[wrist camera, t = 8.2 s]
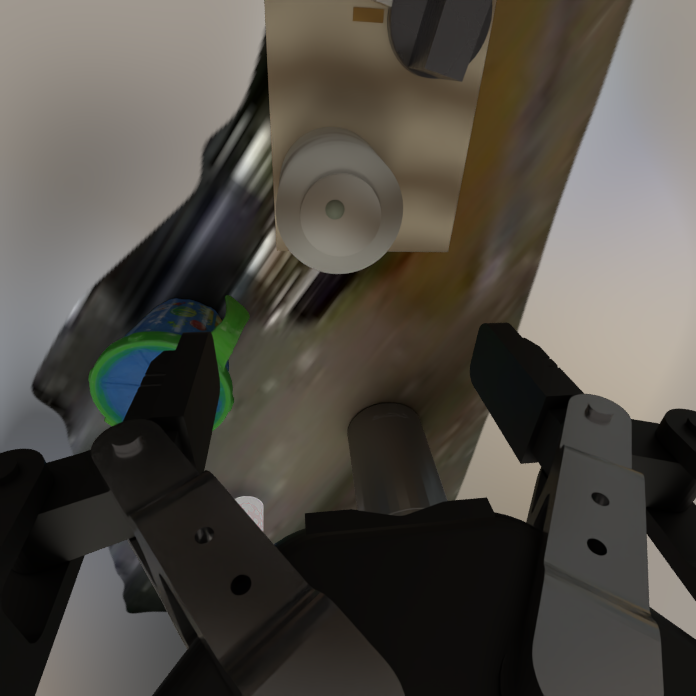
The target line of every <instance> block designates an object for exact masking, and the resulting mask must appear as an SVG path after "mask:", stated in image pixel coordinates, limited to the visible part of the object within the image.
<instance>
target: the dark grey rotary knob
mask: <svg viewBox="0 0 696 696" xmlns="http://www.w3.org/2000/svg"><path fill="white" fill-rule="evenodd" d="M371 1H373V2H376V3H378V4H381V5H384V6H386V7H389V8H388V15H387V30H388V37H389V42H390V45H391V48H392V50H393V53H394V55H395V56H396V58H397V60H398V61H399V62H400V64H401V65H402V66H403V67H404V68H405V69H406V70H408V71H409V72H411V73H412V74H414V75H417V76H420V77H423V78H432V79H444V80H452V81H460V82H462V81H463V78H464V76H465V73H466V70H467V67H468V65H469V63H470V62H471V61H472V60H473V59H474V58H475V57H476V55H477V54H478V52H479V51H480V49H481V47H482V45H483V44H484V41H485V39H486V37H487V34H488V31H489V28H490V23H491V18H492V0H371Z"/></svg>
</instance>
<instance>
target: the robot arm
mask: <svg viewBox="0 0 696 696" xmlns="http://www.w3.org/2000/svg"><path fill="white" fill-rule="evenodd" d="M470 377H471V381H472V384H473V386H474V388H475V389H476V391H477V393H478V394H479V396H480V397H481V399H482V401H483V402H484V404H485V406H486V407H487V409H488V411H489V412H490V414H491V416H492V417H493V419H494V420H495V422H496V424H497V425H498V427H499V429H500V430H501V432H502V434H503V435H504V437H505V439H506V440H507V442H508V443H509V445H510V447H511V448H512V450H513V452H514V453H515V455H516V457H517V458H518V460H519V461H520V463H521V464H523V463H535V462H539V464H540V465H541V469H540V471H539V474H538V476H537V480H536V484H535V489H534V493H533V497H532V501H531V505H530V509H529V513H528V518H527V522H524V521H522V520H519V519H516V518H514V517H511V516H508V515H504V514H499V513H495V512H494V511H493V509H492V507H491V505H490V503H489V501H488V499H487V498H477V499H465V500H454V501H448V500H447V498H446V495H445V492H444V489H443V486H442V483H441V480H440V477H439V474H438V471H437V468H436V465H435V463H434V460H433V457H432V454H431V451H430V448H429V445H428V442H427V439H426V436H425V433H424V430H423V427H422V425H421V422H420V419H419V417H418V415H417V414H416V413H415V411H413V410H412V409H411V408H409V407H407V406H404V405H401V404H396V403H384V404H378V405H374V406H371V407H369V408H367V409H365V410H363V411H362V412H360V413H359V414H358V415H357V416H356V417H355V418H354V419H353V420H352V422H351V423H350V425H349V428H348V442H349V449H350V457H351V465H352V472H353V480H354V487H355V494H356V501H357V509H358V510H352V509H350V510H339V511H328V512H316V513H305V527H306V528H305V529H302V530H299V531H297V532H295V533H292V534H290V535H288V536H286V537H285V538H283V539H282V540H280V541H278V542H277V543H275V544H273V543H272V542H271V541H270V539H269V538H268V537H267V536H266V535H265V534H264V532H263V531H262V530H261V529H260V528H259V527H258V526H257V524H256V523H255V522H254V521H253V520H252V519H251V517H250V516H249V515H248V514H247V513H246V512H245V511H244V509H243V508H242V507H241V506H240V505H239V504H238V502H237V501H236V500H235V499H234V498H233V497H232V496H231V494H230V493H229V492H228V491H227V490H226V489H225V487H224V486H223V485H222V484H221V483H220V482H219V481H218V479H217V478H216V477H215V476H214V475H213V474H212V473H211V472H209V471H207V470H205V471H204V469H205V464H206V459H207V454H208V449H209V445H210V440H211V435H212V430H213V425H214V421H215V416H216V411H217V406H218V401H219V396H220V377H219V371H218V365H217V359H216V353H215V346H214V340H213V336H212V333H211V332H184V333H182V335H181V338H180V340H179V343H178V345H177V348H176V350H167V351H163V352H162V353H161V354H159V355H158V356H157V357H156V358H155V359H153V360H152V361H151V363H150V365H149V367H148V369H147V371H146V373H145V376H144V377H143V380H142V382H141V384H140V387H139V388H138V390H137V392H136V394H135V396H134V399H133V401H132V403H131V405H130V407H129V409H128V411H127V413H126V415H125V418H124V420H123V422H121V423H118V424H116V425H114V426H112V427H110V428H108V429H106V430H105V431H104V432H102V433H101V434H100V435H99V436H98V437H97V438H96V439H95V441H94V442H93V444H92V446H91V450H88V451H86V452H83V453H80V454H76V455H73V456H69V457H66V458H62V459H59V460H55V461H52V462H48V463H46V462H45V460H44V458H43V456H42V455H41V454H40V453H39V452H37V451H35V450H32V449H15V450H10V451H6V452H3V453H0V696H35V694H36V691H37V688H38V685H39V682H40V679H41V676H42V674H43V671H44V668H45V666H46V663H47V660H48V657H49V654H50V651H51V648H52V646H53V643H54V640H55V637H56V634H57V632H58V629H59V626H60V623H61V620H62V618H63V615H64V612H65V609H66V606H67V604H68V600H69V598H70V595H71V592H72V589H73V587H74V584H75V581H76V578H77V575H78V573H79V570H80V567H81V564H82V561H83V558H84V556H85V555H86V554H89V553H92V552H94V551H97V550H99V549H102V548H105V547H108V546H111V545H113V544H116V543H119V542H121V541H124V540H128V542H129V544H130V546H131V547H132V549H133V551H134V553H135V554H136V556H137V558H138V560H139V561H140V563H141V565H142V567H143V568H144V570H145V572H146V574H147V575H148V577H149V579H150V581H151V582H152V584H153V586H154V588H155V589H156V591H157V593H158V595H159V597H160V598H161V600H162V602H163V604H164V606H165V608H166V610H167V612H168V614H169V616H170V618H171V620H172V622H173V624H174V626H175V628H176V630H177V631H178V634H179V635H180V637H181V639H182V641H183V643H184V644H185V646H186V648H187V651H186V652H185V653H184V655H183V656H182V657H181V659H180V660H179V661H178V662H177V664H176V665H175V667H174V668H173V669H172V670H171V672H170V673H169V674H168V676H167V677H166V678H165V679H164V681H163V682H162V683H161V685H160V686H159V687H158V689H157V690H156V691H155V692H154V694H153V695H152V696H696V639H694V638H693V637H691V636H690V635H689V634H687V633H686V632H684V631H683V630H682V629H680V628H679V627H677V626H676V625H674V624H673V623H672V622H670V621H669V620H667V619H666V618H664V617H663V616H662V615H660V614H659V613H657V612H656V611H655V610H653V609H652V608H650V607H649V589H648V588H649V586H648V559H647V534H648V536H649V537H650V539H651V540H652V542H653V543H654V544H655V546H656V547H657V549H658V550H659V551H660V552H661V554H662V555H663V557H664V558H665V560H666V561H667V562H668V563H669V565H670V566H671V568H672V569H673V570H674V572H675V573H676V575H677V576H678V577H679V579H680V580H681V581H682V583H683V584H684V586H685V587H686V588H687V590H688V591H689V593H690V594H691V595H692V597H693V598H694V599H695V601H696V505H695V504H694V503H693V501H694V500H695V498H696V411H692V410H686V409H672V410H669V411H668V412H667V413H666V414H665V416H664V418H663V419H662V421H661V423H660V424H658V423H652V422H646V421H640V420H634V419H631V418H630V416H629V414H628V413H627V412H626V411H625V410H624V409H623V408H622V407H620V406H619V405H618V404H616V403H614V402H613V401H610V400H608V399H606V398H603V397H600V396H596V395H591V394H584V393H583V392H582V391H581V390H580V389H579V388H578V387H577V386H576V385H575V383H574V382H573V381H572V380H571V379H570V378H569V377H568V376H567V375H566V374H565V373H564V372H563V371H562V370H561V369H560V368H558V367H557V364H556V363H555V362H554V361H553V360H552V359H549V356H548V355H547V354H546V353H545V352H544V351H543V350H542V348H540V346H538V345H536V344H534V343H533V342H531V341H529V340H528V339H526V338H522V337H521V336H520V335H519V333H518V332H517V331H516V330H515V329H514V328H513V327H512V326H511V325H510V324H509V323H484V324H482V325H481V326H480V328H479V331H478V335H477V339H476V344H475V348H474V352H473V356H472V360H471V365H470Z"/></svg>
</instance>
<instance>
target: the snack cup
mask: <svg viewBox="0 0 696 696" xmlns="http://www.w3.org/2000/svg"><path fill="white" fill-rule="evenodd" d="M225 301H226V315H225V318H224V319H223V320H221V318H220V317H219V315H218V313H217V312H216V311H215V310H214V309H212V308H211V307H208V306H205V305H204V304H202V303H200V302H196V301H193V300H190V299H178V298H174V299H169V300H168V301H166V302H164V303H162V304H160V305H158V306H157V307H156V308H154V309H153V310H152V311H151V312H150V313H149V314H147V315H146V316H145V317H144V318H143V319H142V320H141V321H140V322H139V323H138V324H137V325H136V326H135V327H134V328H133V329H132V330H131V331H130V332H129V333H127V334H126V335H125V336H124V337H123V338H122V339H119V340H118V341H116V342H114V343H112V344H111V345H110V346H109V347H108V348H107V349H106V350H105V351H104V352H103V353H102V354H101V356H100V357H99V359H98V360H97V362H96V364H95V366H94V367H93V368H92V369H91V371H90V374H89V379H88V380H89V383H90V392H91V396H92V398H93V401H94V403H95V405H96V406H97V408H98V409H99V411H100V412H101V413H102V414H103V415H104V416H105V419H104V421H105V422H106V423H108V424H109V425H111V426H114V425H116V424H118V423H121V422H123V420H124V418H125V415H126V413H127V411H128V409H129V407H130V405H131V403H132V401H133V399H134V396H135V394H136V392H137V390H138V388H139V387H140V384H141V382H142V380H143V377H144V376H145V373H146V371H147V369H148V367H149V365H150V363H151V361H152V360H153V359H155V358H156V357H157V356H158V355H159V354H161V353H162V352H163V351H167V350H176V348H177V345H178V343H179V340H180V338H181V335H182V333H184V332H211V333H212V336H213V340H214V346H215V353H216V359H217V365H218V371H219V377H220V396H219V401H218V406H217V411H216V416H215V421H214V425H213V430H215V429H216V428H217V427H218V426H219V425H220V424H221V423H222V422H223V420H224V419H225V418H226V416H227V414H228V412H229V411H231V409H232V406H233V403H234V398H233V394H232V391H233V386H232V380H231V377H230V374H229V372H228V371H229V357H230V355H231V353H232V352H233V349H234V347H235V345H236V343H237V341H238V339H239V337H240V335H241V332H242V330H243V328H244V326H245V325H246V323H247V322H248V320H249V318H250V316H249V313H248V312H247V310H246V309H245V308H244V307H243V306H242V305H241V304H240V303H238V302H237V301H236V300H235V299H234V298H232V297H231V296H229V295H226V296H225ZM213 430H212V431H213Z"/></svg>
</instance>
